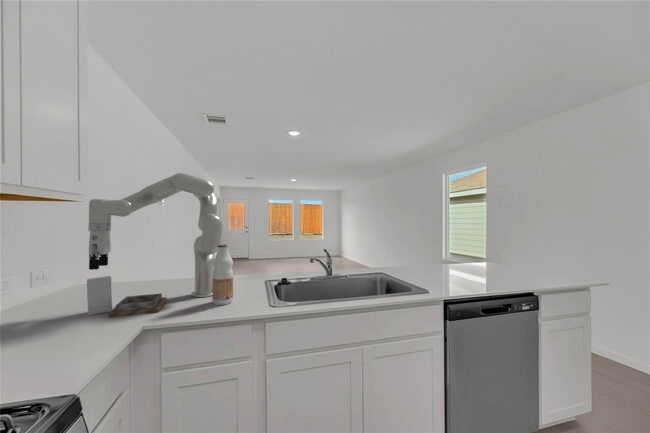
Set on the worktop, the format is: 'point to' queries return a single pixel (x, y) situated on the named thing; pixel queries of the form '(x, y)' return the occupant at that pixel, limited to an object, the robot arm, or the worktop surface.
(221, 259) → the fruit juice
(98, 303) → the skincare box
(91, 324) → the worktop surface
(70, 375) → the worktop surface
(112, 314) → the tray
